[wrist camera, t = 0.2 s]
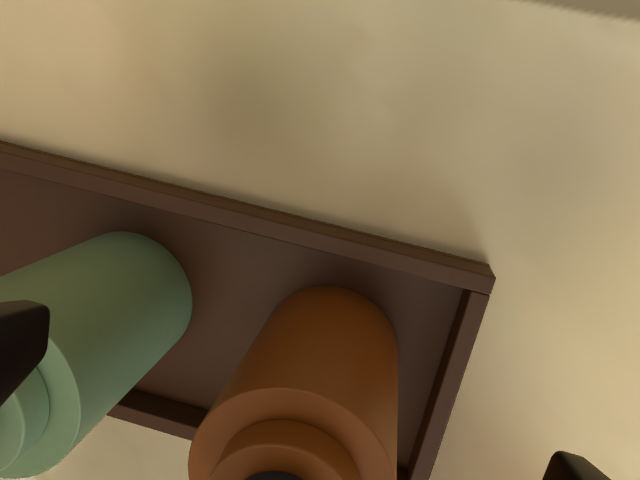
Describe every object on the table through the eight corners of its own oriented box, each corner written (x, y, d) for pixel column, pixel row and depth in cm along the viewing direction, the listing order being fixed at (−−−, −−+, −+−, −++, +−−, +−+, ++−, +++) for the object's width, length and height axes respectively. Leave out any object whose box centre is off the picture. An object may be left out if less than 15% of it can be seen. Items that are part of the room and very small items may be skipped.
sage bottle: (182, 370, 26) (-8, 595, 14) (63, 336, 26) (-217, 524, 14) (202, 249, 24) (4, 388, 12) (74, 216, 25) (-234, 316, 13)
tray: (418, 481, 26) (419, 509, 24) (-147, 314, 28) (-184, 328, 27) (489, 263, 22) (496, 277, 21) (-153, 101, 25) (-196, 101, 24)
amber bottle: (379, 427, 25) (357, 720, 13) (251, 390, 25) (118, 638, 13) (414, 306, 23) (427, 515, 11) (276, 269, 24) (149, 432, 12)
